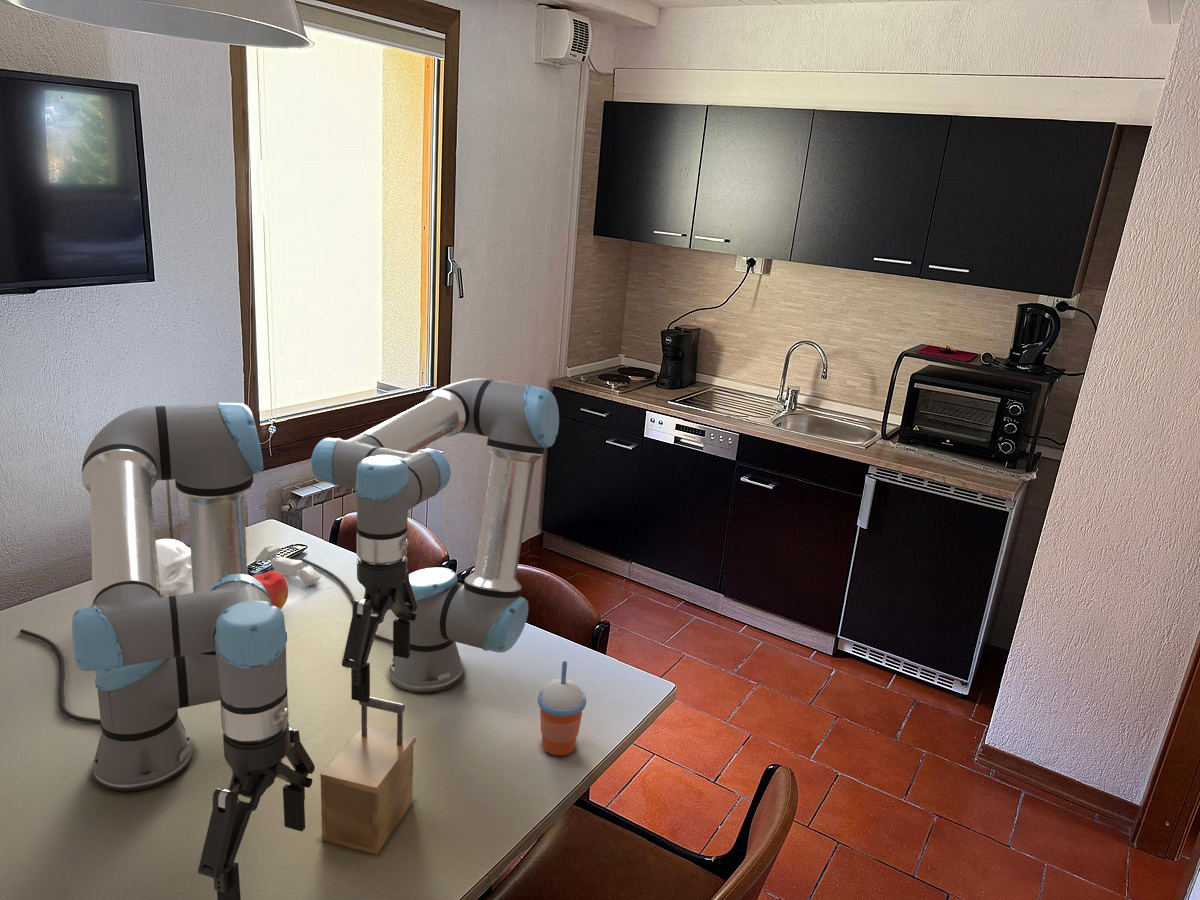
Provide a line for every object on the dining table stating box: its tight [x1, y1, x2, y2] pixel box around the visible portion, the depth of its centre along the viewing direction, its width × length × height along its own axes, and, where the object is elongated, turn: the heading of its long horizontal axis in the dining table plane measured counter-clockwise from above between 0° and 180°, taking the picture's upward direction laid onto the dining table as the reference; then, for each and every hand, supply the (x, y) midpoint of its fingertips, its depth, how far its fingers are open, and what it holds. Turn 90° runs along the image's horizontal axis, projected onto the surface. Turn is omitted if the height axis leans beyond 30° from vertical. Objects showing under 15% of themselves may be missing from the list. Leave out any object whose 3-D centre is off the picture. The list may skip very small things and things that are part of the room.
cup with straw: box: [537, 660, 587, 756], centre depth 160 cm, size 9×9×18 cm
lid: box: [320, 696, 417, 794], centre depth 136 cm, size 14×10×9 cm
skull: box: [155, 538, 193, 597], centre depth 200 cm, size 13×22×16 cm, turn 73°
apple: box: [253, 570, 289, 611], centre depth 199 cm, size 10×10×10 cm
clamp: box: [254, 544, 322, 587], centre depth 219 cm, size 20×4×7 cm, turn 62°
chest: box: [320, 745, 414, 855], centre depth 139 cm, size 13×10×11 cm
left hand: (264, 864), depth 110 cm, fingers open, 13 cm apart
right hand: (381, 677), depth 137 cm, fingers open, 13 cm apart
